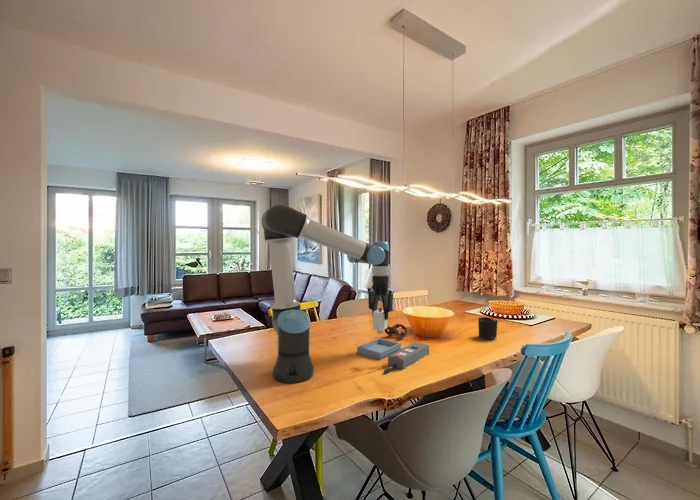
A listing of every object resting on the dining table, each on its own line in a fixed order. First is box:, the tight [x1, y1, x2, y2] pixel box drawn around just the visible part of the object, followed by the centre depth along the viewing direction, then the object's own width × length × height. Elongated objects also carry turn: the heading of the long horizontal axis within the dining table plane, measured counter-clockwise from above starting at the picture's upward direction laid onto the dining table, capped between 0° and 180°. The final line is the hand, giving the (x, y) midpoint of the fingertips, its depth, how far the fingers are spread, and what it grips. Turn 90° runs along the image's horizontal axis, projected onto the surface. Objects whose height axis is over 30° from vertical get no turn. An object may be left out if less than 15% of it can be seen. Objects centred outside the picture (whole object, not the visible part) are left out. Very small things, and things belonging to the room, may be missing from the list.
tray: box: [356, 337, 402, 361], centre depth 146 cm, size 18×13×3 cm
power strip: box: [383, 341, 430, 375], centre depth 133 cm, size 32×7×5 cm, turn 142°
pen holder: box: [477, 316, 498, 340], centre depth 170 cm, size 9×9×10 cm
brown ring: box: [383, 323, 408, 341], centre depth 168 cm, size 12×10×8 cm
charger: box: [372, 307, 388, 335], centre depth 146 cm, size 6×4×12 cm, turn 142°
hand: (380, 325), depth 146 cm, fingers closed on charger, 4 cm apart
